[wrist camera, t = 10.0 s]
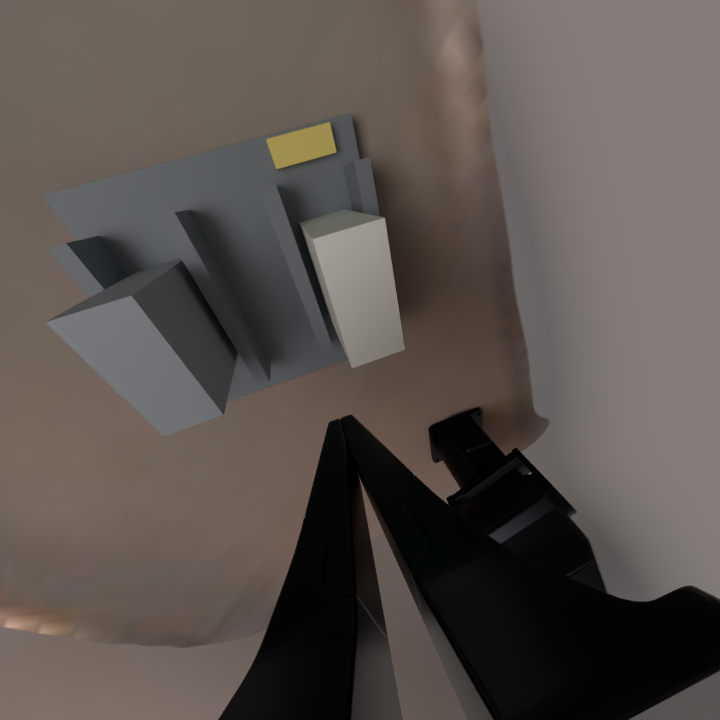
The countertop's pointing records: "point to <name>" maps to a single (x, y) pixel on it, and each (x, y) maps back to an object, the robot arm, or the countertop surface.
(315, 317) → the rack
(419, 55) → the countertop surface
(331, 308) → the block
